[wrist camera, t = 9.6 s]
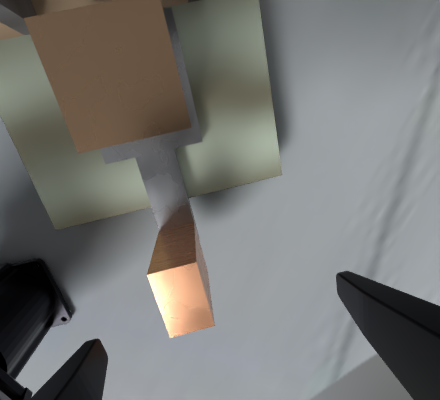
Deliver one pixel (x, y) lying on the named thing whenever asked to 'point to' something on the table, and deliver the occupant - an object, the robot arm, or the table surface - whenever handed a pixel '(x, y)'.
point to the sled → (135, 127)
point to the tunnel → (187, 155)
